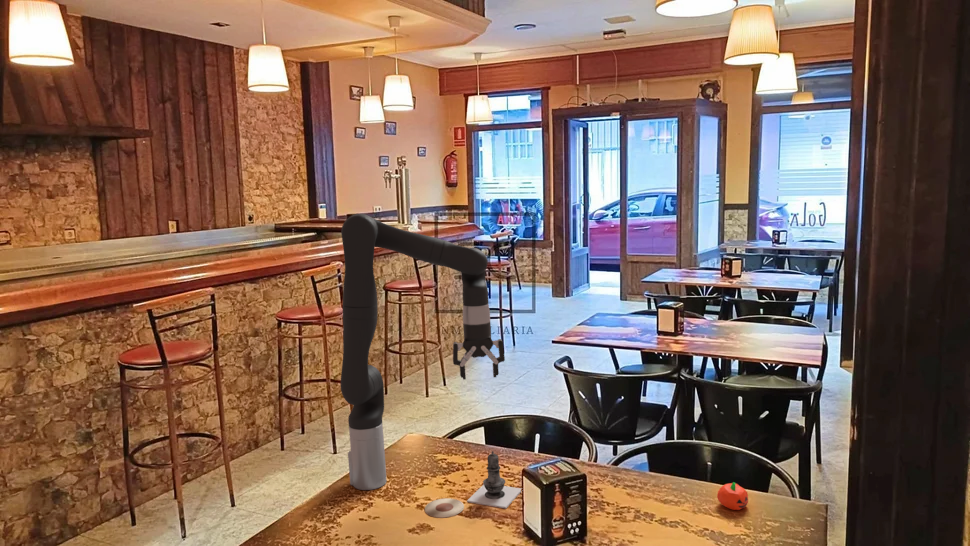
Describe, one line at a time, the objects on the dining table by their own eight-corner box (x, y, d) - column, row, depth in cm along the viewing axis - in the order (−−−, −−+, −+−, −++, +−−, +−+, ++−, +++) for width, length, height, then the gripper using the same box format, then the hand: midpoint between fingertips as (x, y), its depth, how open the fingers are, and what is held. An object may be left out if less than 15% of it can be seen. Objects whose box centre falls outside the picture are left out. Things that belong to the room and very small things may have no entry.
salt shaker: (503, 500, 174) (501, 455, 172) (481, 499, 175) (479, 454, 173) (507, 490, 179) (505, 446, 178) (486, 489, 181) (483, 446, 179)
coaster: (417, 513, 170) (417, 513, 169) (436, 496, 178) (436, 495, 178) (452, 520, 165) (452, 519, 165) (470, 502, 174) (470, 501, 174)
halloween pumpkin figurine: (748, 503, 168) (752, 479, 166) (744, 518, 161) (748, 493, 159) (718, 495, 171) (722, 471, 170) (713, 508, 164) (716, 484, 163)
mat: (467, 501, 175) (467, 500, 175) (485, 484, 184) (485, 482, 184) (506, 508, 170) (506, 507, 170) (522, 490, 180) (522, 488, 180)
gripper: (451, 325, 181) (454, 383, 183) (503, 321, 182) (506, 379, 184) (450, 319, 189) (453, 376, 191) (500, 316, 190) (503, 372, 192)
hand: (479, 377), depth 188 cm, fingers open, 8 cm apart
